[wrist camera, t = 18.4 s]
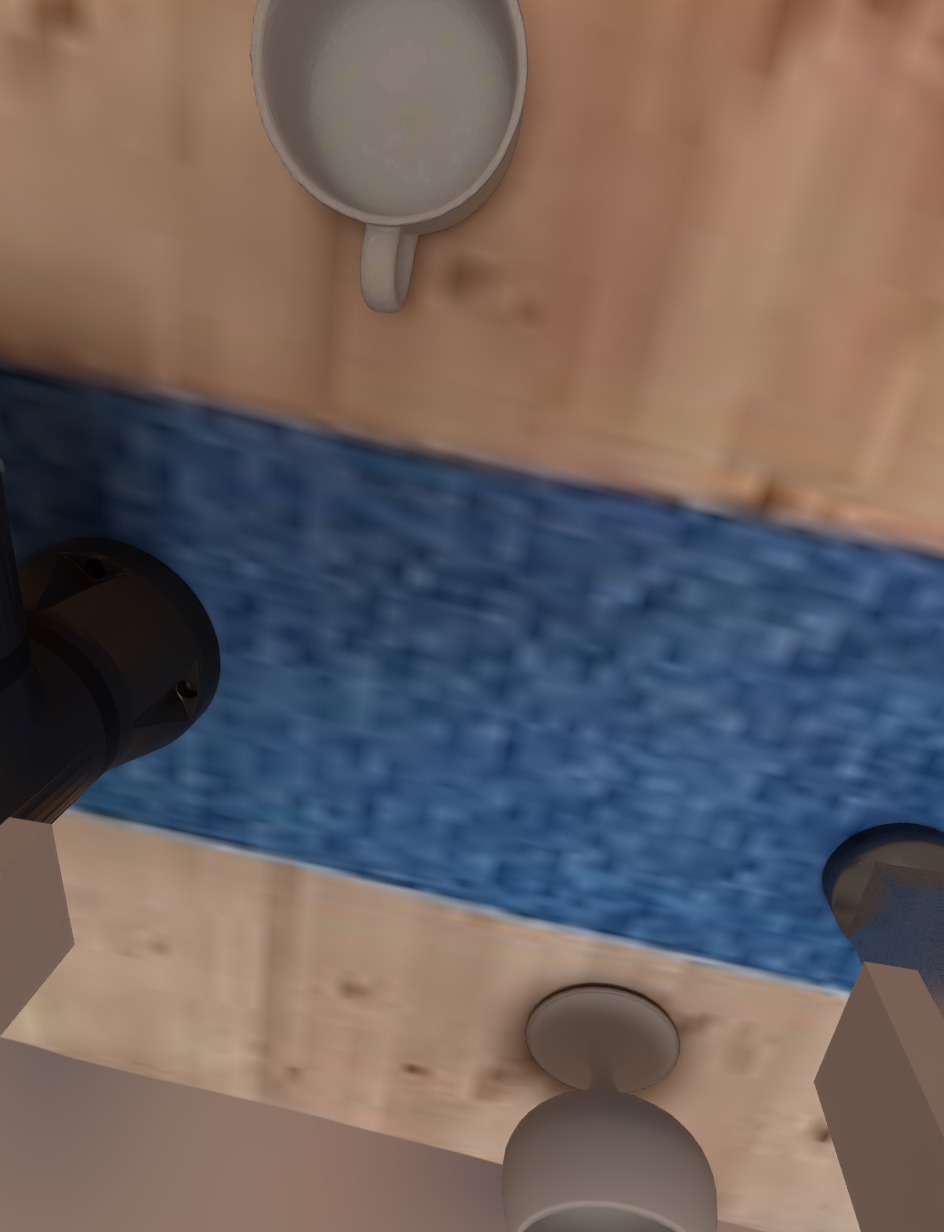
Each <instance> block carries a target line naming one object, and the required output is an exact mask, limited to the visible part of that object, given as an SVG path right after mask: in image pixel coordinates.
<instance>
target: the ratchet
mask: <svg viewBox="0 0 944 1232" xmlns="http://www.w3.org/2000/svg"><path fill="white" fill-rule="evenodd" d="M876 862H878V863H884V864H891V865H897V866H904V867H910V868H916V869H923V870H929V871H935V872H942V873H944V833H943V832H941V831H938V830H936V829H934V828H931V827H928V826H924V825H919V824H911V823H893V824H885V825H880V826H876V827H872V828H869V829H866V830H864V831H861V832H859V833H857V834H855V835H854V836H852V837H850V838H849V839H847V840H846V841H844V842H843V843H842V844H841V845H840V846H839V847H837V849H836V850H835V851H834V852H833V853H832V854H831V856H830V857H829V859H828V861H827V863H826V865H825V868H824V871H823V878H822V883H823V889H824V893H825V895H826V898H827V900H828V902H829V905H830V907H831V909H832V912H833V914H834V916H835V918H836V921H837V923H838V925H839V927H840V929H841V930H842V932H843V933H844V935H845V936H846V937H847V938H848V939H849V940H850V937H849V935H848V931H849V928H850V926H851V923H852V921H853V918H854V916H855V913H856V911H857V908H858V906H859V903H860V901H861V898H862V896H863V893H864V891H865V888H866V886H867V883H868V881H869V878H870V876H871V873H872V871H873V868H874V866H875V863H876ZM850 941H851V940H850Z"/></svg>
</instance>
